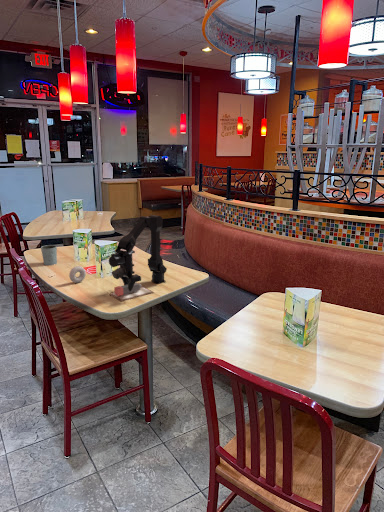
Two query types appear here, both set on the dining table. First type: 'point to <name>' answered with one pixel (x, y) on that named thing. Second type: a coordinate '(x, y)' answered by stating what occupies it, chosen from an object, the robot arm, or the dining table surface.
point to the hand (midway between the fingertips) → (128, 290)
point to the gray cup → (49, 254)
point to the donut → (81, 276)
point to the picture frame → (132, 294)
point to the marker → (126, 289)
